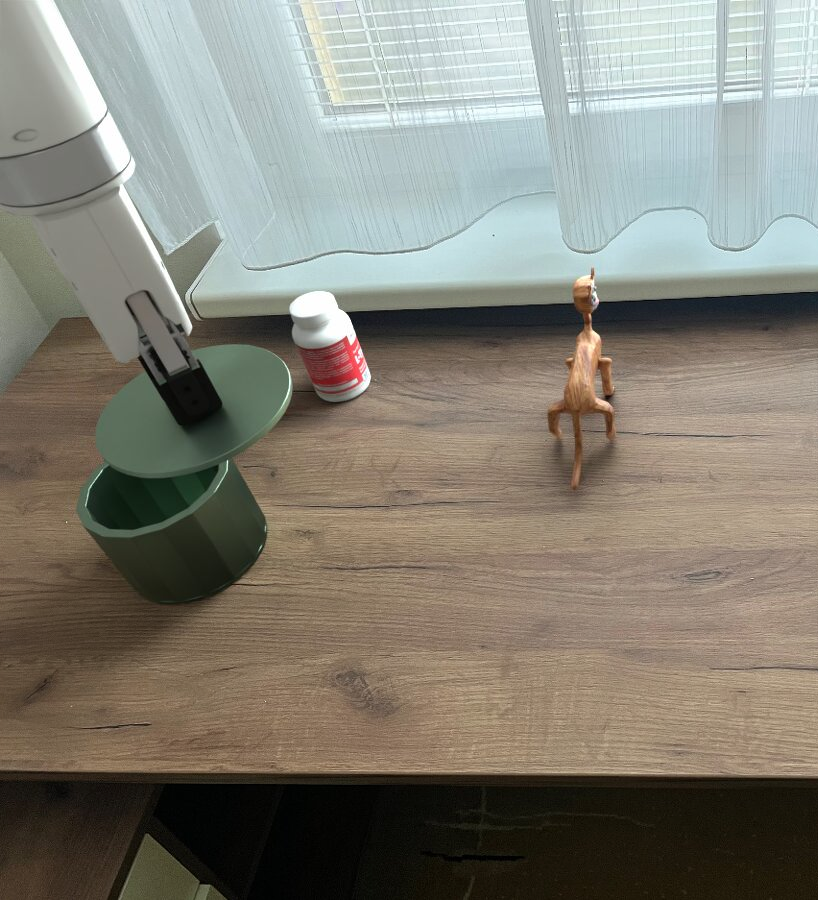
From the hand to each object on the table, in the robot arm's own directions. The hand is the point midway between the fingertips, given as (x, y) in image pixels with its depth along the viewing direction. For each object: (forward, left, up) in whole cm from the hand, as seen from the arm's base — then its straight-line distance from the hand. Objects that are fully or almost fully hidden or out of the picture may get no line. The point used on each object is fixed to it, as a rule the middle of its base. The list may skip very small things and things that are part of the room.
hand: (192, 401), depth 62 cm
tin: (-5, +11, -22) cm, 25 cm away
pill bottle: (+16, +23, -22) cm, 35 cm away
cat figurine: (+31, -2, -22) cm, 38 cm away
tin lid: (0, 0, -1) cm, 1 cm away
